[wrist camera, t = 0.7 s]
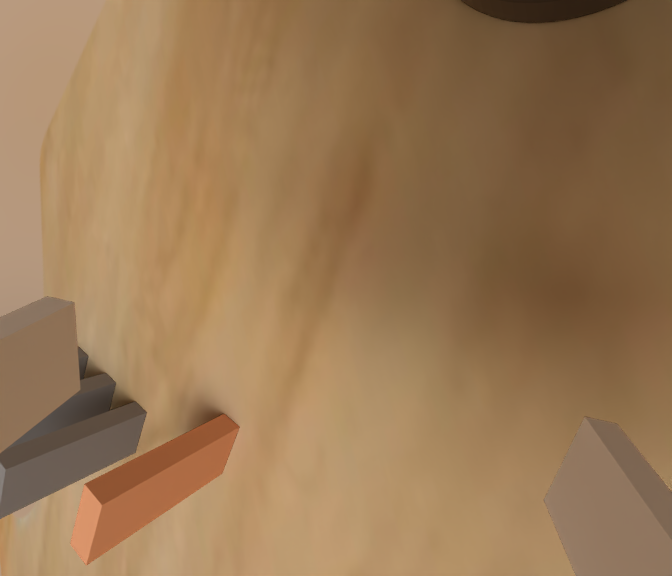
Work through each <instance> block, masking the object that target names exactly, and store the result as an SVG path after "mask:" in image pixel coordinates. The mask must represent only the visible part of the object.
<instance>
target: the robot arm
mask: <svg viewBox="0 0 672 576" xmlns="http://www.w3.org/2000/svg"><path fill="white" fill-rule="evenodd" d="M462 1H463V2H464V3H466V4H467V5H469V6H471V7H472V8H474V9H476V10H478V11H480V12H482V13H484V14H487V15H490V16H493V17H496V18H500V19H504V20H510V21H516V22H552V21H559V20H566V19H571V18H576V17H580V16H584V15H587V14H591V13H595V12H598V11H600V10H603V9H606V8H609V7H612V6H614V5H616V4H619V3H621V2H624V1H626V0H462ZM79 390H80V375H79V361H78V346H77V331H76V316H75V302H71V301H66V300H62V299H57V298H53V297H48V296H47V297H44V298H42V299H40V300H38V301H36V302H33V303H31V304H29V305H27V306H24V307H22V308H20V309H18V310H15V311H13V312H11V313H9V314H6V315H4V316H2V317H0V453H1V452H2V451H4V450H5V449H6V448H7V447H9V446H10V445H11V444H13V443H14V442H15V441H16V440H18V439H19V438H20V437H21V436H23V435H24V434H25V433H26V432H28V431H29V430H30V429H31V428H33V427H34V426H35V425H37V424H38V423H39V422H40V421H42V420H43V419H44V418H45V417H47V416H48V415H49V414H50V413H52V412H53V411H54V410H55V409H57V408H58V407H59V406H61V405H62V404H63V403H64V402H66V401H67V400H68V399H69V398H71V397H72V396H73V395H74V394H76V393H77V392H78V391H79ZM544 502H545V504H546V506H547V509H548V511H549V514H550V516H551V518H552V521H553V523H554V525H555V528H556V530H557V532H558V535H559V537H560V540H561V542H562V544H563V547H564V549H565V551H566V554H567V556H568V558H569V561H570V563H571V566H572V568H573V570H574V573H575V575H576V576H672V492H671V491H670V489H669V488H668V487H667V486H666V484H665V483H664V482H663V481H662V479H661V478H660V477H659V476H658V474H657V473H656V472H655V471H654V469H653V468H652V467H651V466H650V464H649V463H648V462H647V460H646V459H645V458H644V457H643V455H642V454H641V453H640V452H639V450H638V449H637V448H636V447H635V445H634V444H633V443H632V442H631V440H630V439H629V438H628V437H627V435H626V434H625V433H624V432H623V430H622V429H621V428H620V427H619V425H618V424H616V423H612V422H607V421H603V420H598V419H594V418H589V417H584V419H583V421H582V423H581V425H580V427H579V429H578V431H577V433H576V435H575V437H574V439H573V441H572V443H571V445H570V447H569V449H568V452H567V454H566V456H565V458H564V460H563V462H562V464H561V466H560V468H559V470H558V472H557V474H556V476H555V478H554V480H553V482H552V484H551V486H550V488H549V490H548V492H547V494H546V496H545V498H544Z"/></svg>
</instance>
